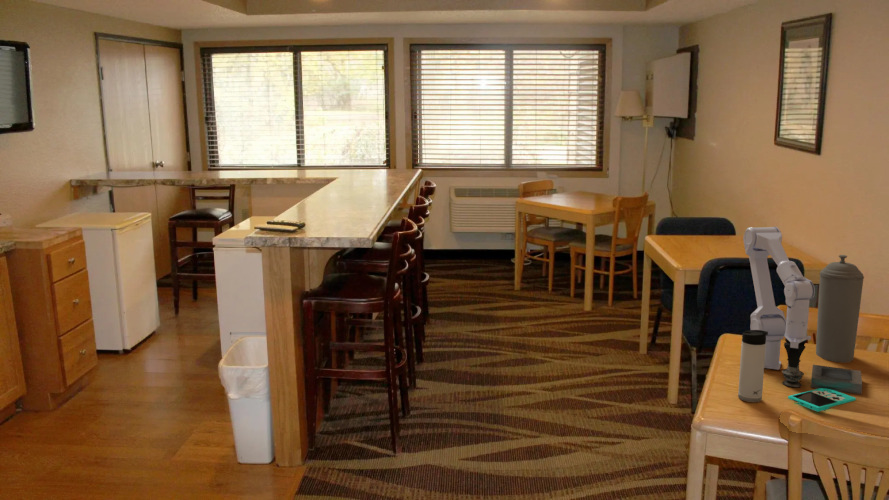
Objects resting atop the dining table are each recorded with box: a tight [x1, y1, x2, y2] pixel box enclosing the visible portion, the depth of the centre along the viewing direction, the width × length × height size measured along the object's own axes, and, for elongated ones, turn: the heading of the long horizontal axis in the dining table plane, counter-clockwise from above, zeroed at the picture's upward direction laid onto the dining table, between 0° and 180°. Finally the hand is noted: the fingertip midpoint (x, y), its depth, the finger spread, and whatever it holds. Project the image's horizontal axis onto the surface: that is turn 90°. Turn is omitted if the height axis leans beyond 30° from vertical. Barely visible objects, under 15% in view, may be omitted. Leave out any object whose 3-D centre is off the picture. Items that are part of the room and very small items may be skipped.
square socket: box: [810, 364, 863, 395], centre depth 216 cm, size 13×13×3 cm
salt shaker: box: [781, 358, 804, 388], centre depth 215 cm, size 6×6×12 cm
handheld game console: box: [787, 388, 857, 412], centre depth 204 cm, size 10×16×1 cm, turn 116°
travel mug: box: [737, 329, 768, 403], centre depth 204 cm, size 6×7×20 cm
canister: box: [815, 254, 865, 364], centre depth 235 cm, size 13×13×35 cm
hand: (793, 364), depth 215 cm, fingers closed on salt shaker, 3 cm apart
